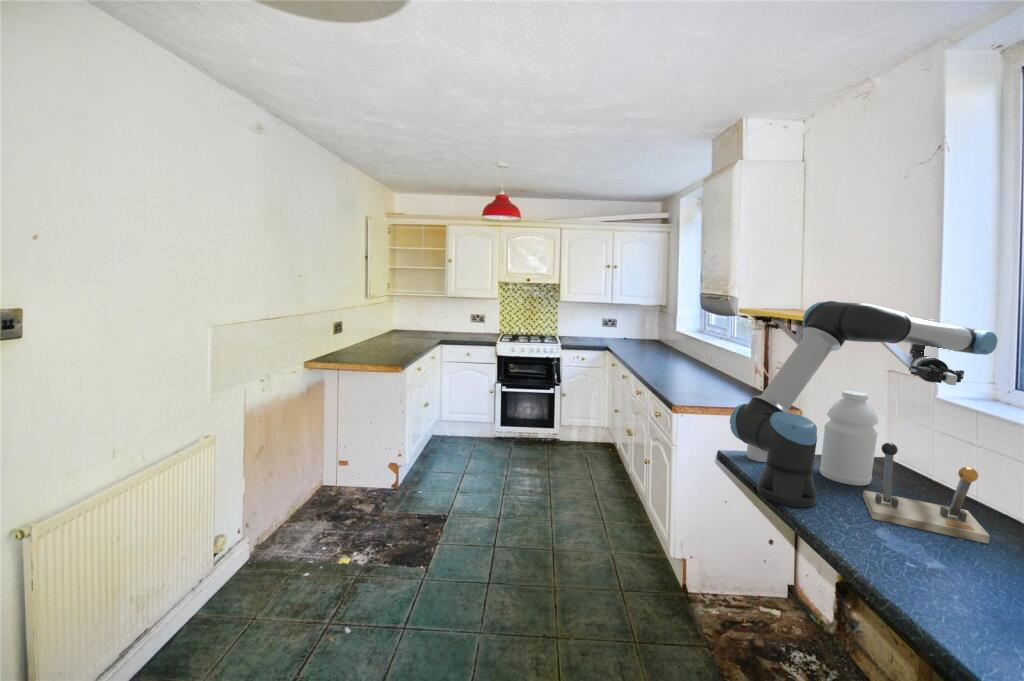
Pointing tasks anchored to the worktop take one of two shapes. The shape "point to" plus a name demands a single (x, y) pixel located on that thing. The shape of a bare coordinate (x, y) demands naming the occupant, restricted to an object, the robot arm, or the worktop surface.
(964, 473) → the orange knob lever
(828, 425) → the bottle
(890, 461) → the black knob lever
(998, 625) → the worktop surface
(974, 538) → the switch board
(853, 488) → the worktop surface
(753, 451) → the milk bottle
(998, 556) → the worktop surface
